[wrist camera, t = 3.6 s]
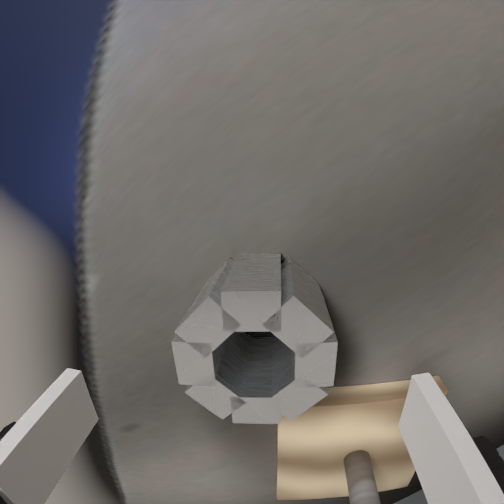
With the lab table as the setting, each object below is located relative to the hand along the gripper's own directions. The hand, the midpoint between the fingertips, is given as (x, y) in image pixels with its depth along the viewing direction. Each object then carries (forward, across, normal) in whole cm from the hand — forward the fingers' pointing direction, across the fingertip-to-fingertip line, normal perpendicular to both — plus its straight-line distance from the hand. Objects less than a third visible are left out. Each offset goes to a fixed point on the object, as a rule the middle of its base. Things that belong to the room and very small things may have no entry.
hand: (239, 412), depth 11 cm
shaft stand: (+9, +8, -12) cm, 16 cm away
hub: (+9, 0, 0) cm, 9 cm away
